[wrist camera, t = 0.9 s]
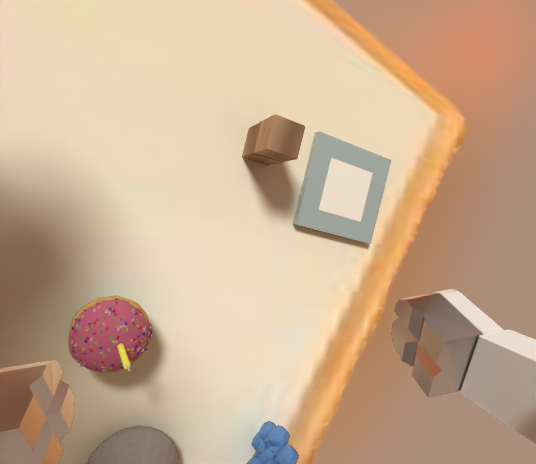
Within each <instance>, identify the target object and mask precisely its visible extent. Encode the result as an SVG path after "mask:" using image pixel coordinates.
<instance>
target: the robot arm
mask: <svg viewBox="0 0 536 464" xmlns="http://www.w3.org/2000/svg"><path fill="white" fill-rule="evenodd" d="M394 312H395V313H396V314H397V315H398V318H397V319H396V320H395V322H394V323H393V324H392V328H391V339H392V343H393V347H394V349H395V351H396V353H397V355H398V356H399V357H400V359H401V360H402V361H403V362H405V363H407V364H409V365H410V366H412V376H413V377H414V379H415V380H416V381H417V383H418V384H419V386H420V387H421V389H422V390H423V392H424V393H425V394H426V396H427V397H433V396H438V395H443V394H448V393H453V392H458V391H460V394H462V395H463V396H465V397H466V398H468V399H470V400H471V401H472V402H474V403H475V404H477V405H478V406H480V407H481V408H483V409H485V410H486V411H487V412H489V413H491V414H492V415H494V416H495V417H496V418H498V419H499V420H501V421H502V422H504V423H505V424H507V425H508V426H510V427H511V428H513V429H514V430H516V431H517V432H519V433H520V434H522V435H523V436H525V437H526V438H528V439H529V440H531V441H532V442H534V443H535V444H536V340H535V339H532V338H530V337H527V336H524V335H522V334H520V333H517V332H514V331H512V330H505V331H504V330H503V329H502V328H500V327H499V326H498V325H497V324H496V323H495V322H494V321H493V320H491V319H490V318H489V317H488V316H487V315H486V314H484V313H483V312H482V311H481V310H480V309H478V308H477V307H476V306H475V305H474V304H473V303H472V302H470V301H469V300H468V299H467V298H466V297H465V296H464V295H462V294H461V293H460V292H459V291H457V290H454V289H449V290H444V291H439V292H434V293H429V294H423V295H418V296H413V297H408V298H402V299H399V300H398V301H397V303H396V305H395V310H394ZM62 373H63V370H62V368H61V366H60V365H59V363H58V361H55V360H49V361H43V362H36V363H30V364H23V365H16V366H10V367H3V368H1V369H0V464H59V463H60V460H61V456H62V453H63V449H62V447H61V445H60V443H59V441H60V440H61V439H62V438H63V437H64V436H65V434H66V433H67V432H68V431H69V430H70V427H71V424H72V420H73V415H74V398H73V393H72V390H71V388H70V386H69V385H68V384H66V383H64V382H62V381H60V378H61V376H62Z"/></svg>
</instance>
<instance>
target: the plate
mask: <svg viewBox="0 0 536 464" xmlns="http://www.w3.org/2000/svg"><path fill="white" fill-rule="evenodd" d="M390 163H391V160H389V159H387V158H384V157H382V156H379V155H377V154H374V153H372V152H369V151H367V150H364V149H362V148H359V147H357V146H354V145H352V144H349V143H347V142H344V141H342V140H339V139H337V138H334V137H332V136H329V135H327V134H324V133H322V132H317V133H315V136H314V140H313V144H312V148H311V152H310V156H309V160H308V164H307V169H306V173H305V177H304V181H303V185H302V189H301V193H300V197H299V201H298V205H297V209H296V213H295V217H294V221H293V224H295V225H299V226H303V227H306V228H310V229H314V230H318V231H322V232H326V233H329V234H333V235H337V236H341V237H345V238H348V239H352V240H356V241H360V242H364V243H368V244H371V240H372V236H373V232H374V228H375V224H376V220H377V216H378V212H379V208H380V203H381V199H382V195H383V191H384V187H385V183H386V179H387V175H388V171H389V167H390Z"/></svg>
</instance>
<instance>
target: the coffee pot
mask: <svg viewBox="0 0 536 464" xmlns="http://www.w3.org/2000/svg"><path fill="white" fill-rule="evenodd" d="M178 458H179V456H178V453H177V449H176V446H175V445H174V443H173V442H172V440H171V439H170V437H168V436H167V435H165V434H164V433H163V432H161V431H160V430H158V429H155V428H152V427H143V426H137V427H132V428H127V429H124V430H122V431H120V432H117V433H115V434H113V435H112V436H110V437H109V438H108V439H106V440H105V441H104V442H103V443H102V444H101V445H100V446H99V447H98V448H97V449H96V450H95V451H94V452H93V453H92V454H91V456H90V458H89V459H88V461H87V463H86V464H178Z"/></svg>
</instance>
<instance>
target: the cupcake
mask: <svg viewBox="0 0 536 464" xmlns="http://www.w3.org/2000/svg"><path fill="white" fill-rule="evenodd" d="M151 336H152V326H151V324H150V323H149V320H148V317H147V314H146V313H145V311H144V310H143V309H142V307H141V306H140V305H139V304H138V303H136V302H134V301H132V300H129V299H126V298H123V297H120V296H110V297H102V298H97V299H95V300H93V301H91V302H90V303H88V304H87V305H85V306H84V307H82V308H81V309H80V310H79V311H78V312H77V314H76V315H75V317H74V318H73V320H72V323H71V326H70V331H69V350H70V354H71V356H72V357H73V358H74V359H75V360H76V362H77V363H80V366H82V365H83V366H84V367H86V368H88V369H90V370H91V372H93V371H98V372H110V371H113V372H114V371H118V370H120V369H123V368H124V369H128V371H129V372H130V371H131V370H130V366H131V364H132V363H133V362H134V361H135V360H138V358H140V356H141V354H142V353H143V352H144V350H145V351H146V350H147V347H148V344H149V342H150V340H151V338H152V337H151Z"/></svg>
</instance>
